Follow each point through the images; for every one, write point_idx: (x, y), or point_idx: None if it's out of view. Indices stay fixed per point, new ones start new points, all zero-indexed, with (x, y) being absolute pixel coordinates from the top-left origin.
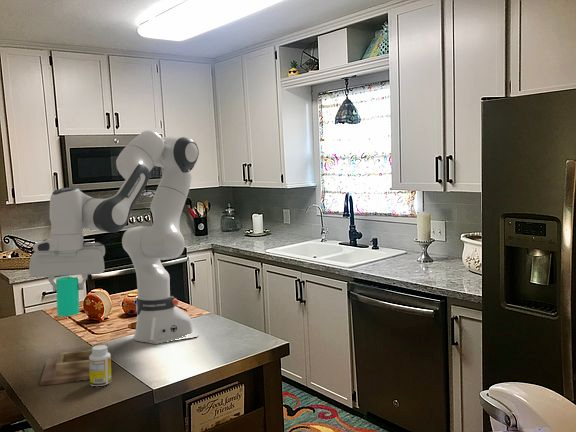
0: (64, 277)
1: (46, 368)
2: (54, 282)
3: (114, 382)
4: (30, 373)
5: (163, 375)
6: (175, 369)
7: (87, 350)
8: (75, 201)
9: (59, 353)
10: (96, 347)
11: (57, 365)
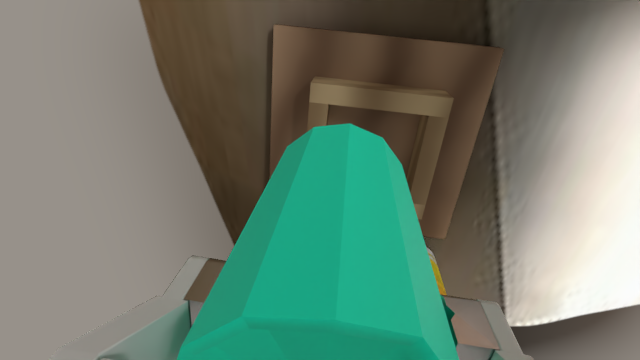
0: (271, 328)
1: (276, 123)
2: (162, 323)
3: (440, 264)
4: (234, 104)
5: (567, 275)
6: (621, 253)
7: (413, 99)
8: None
9: (312, 90)
10: None
11: None
